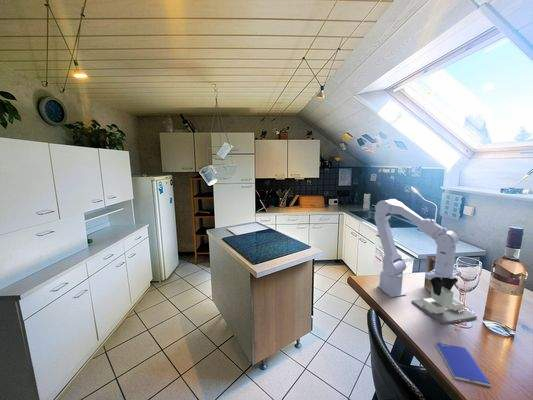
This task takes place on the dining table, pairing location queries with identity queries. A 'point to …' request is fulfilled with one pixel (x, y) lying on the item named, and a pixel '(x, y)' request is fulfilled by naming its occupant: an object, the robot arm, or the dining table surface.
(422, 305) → the board
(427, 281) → the coffee box
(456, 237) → the robot arm
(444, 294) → the block
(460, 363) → the hard drive
